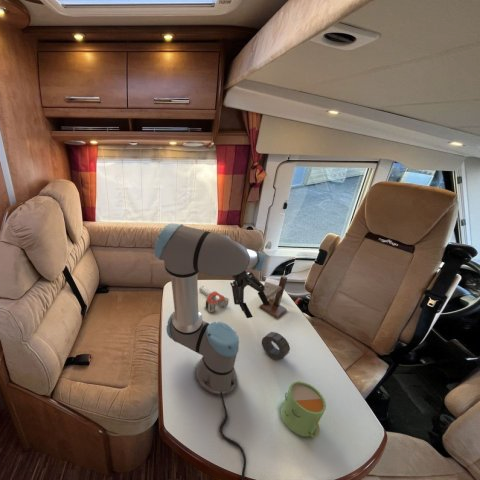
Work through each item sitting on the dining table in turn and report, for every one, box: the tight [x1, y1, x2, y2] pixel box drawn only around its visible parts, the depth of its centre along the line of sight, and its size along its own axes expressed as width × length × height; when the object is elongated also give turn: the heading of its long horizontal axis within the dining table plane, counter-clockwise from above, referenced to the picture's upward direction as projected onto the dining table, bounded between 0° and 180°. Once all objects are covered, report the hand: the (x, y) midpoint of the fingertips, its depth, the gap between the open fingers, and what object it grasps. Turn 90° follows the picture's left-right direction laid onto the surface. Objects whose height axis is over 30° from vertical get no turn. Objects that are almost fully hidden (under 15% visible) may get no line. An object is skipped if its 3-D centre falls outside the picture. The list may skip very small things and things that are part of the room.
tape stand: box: [259, 275, 288, 319], centre depth 123 cm, size 18×10×20 cm, turn 127°
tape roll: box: [261, 331, 291, 361], centre depth 101 cm, size 10×4×10 cm, turn 37°
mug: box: [280, 380, 327, 438], centre depth 76 cm, size 13×10×12 cm
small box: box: [263, 277, 280, 301], centre depth 138 cm, size 8×6×10 cm
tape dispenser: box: [198, 285, 230, 313], centre depth 133 cm, size 18×5×20 cm
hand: (258, 311), depth 104 cm, fingers open, 13 cm apart
